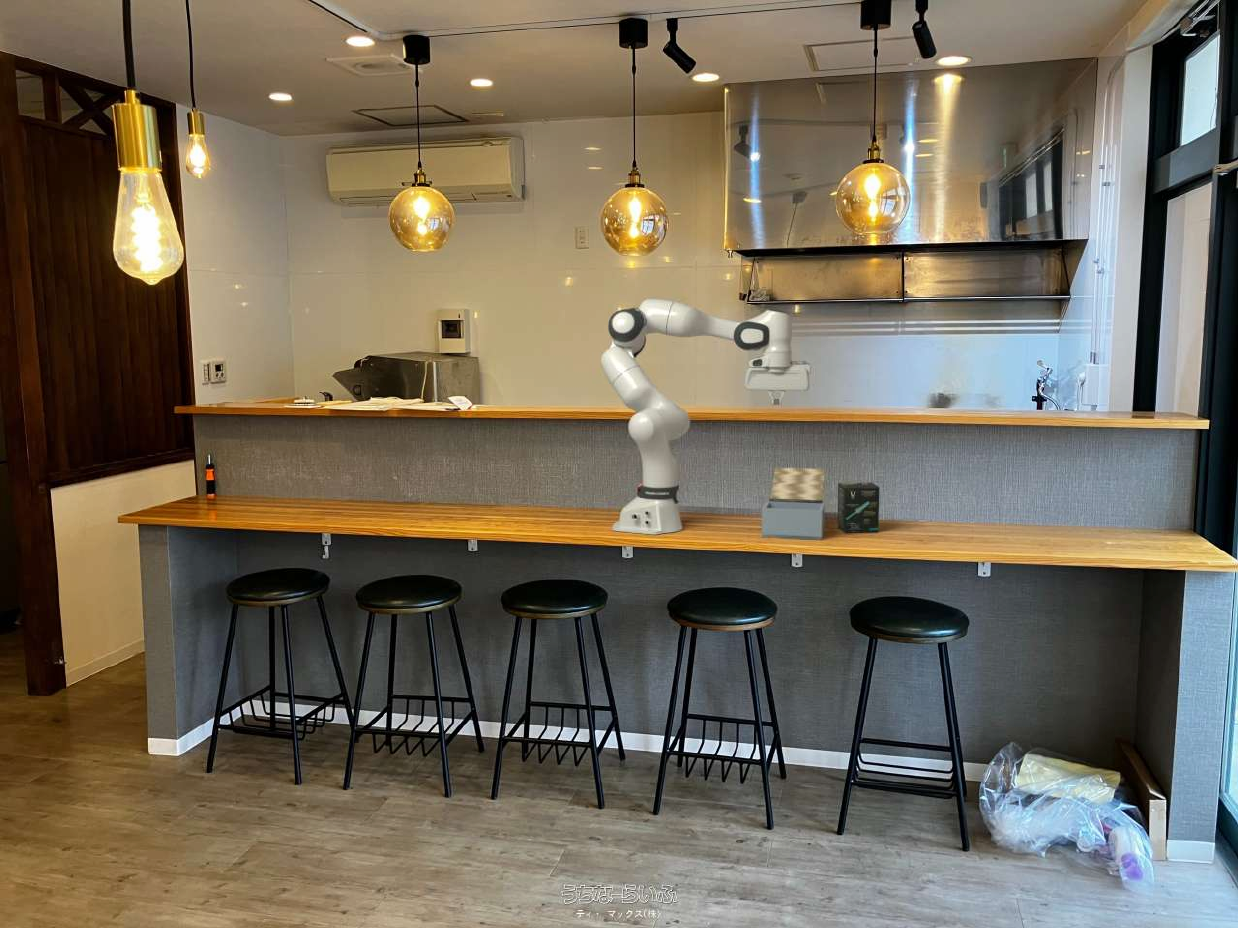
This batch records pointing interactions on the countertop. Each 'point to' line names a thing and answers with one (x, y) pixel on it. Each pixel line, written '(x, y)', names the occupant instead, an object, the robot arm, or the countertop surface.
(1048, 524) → the countertop surface
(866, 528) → the tampon box
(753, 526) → the countertop surface
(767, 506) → the crate
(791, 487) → the lid flap
